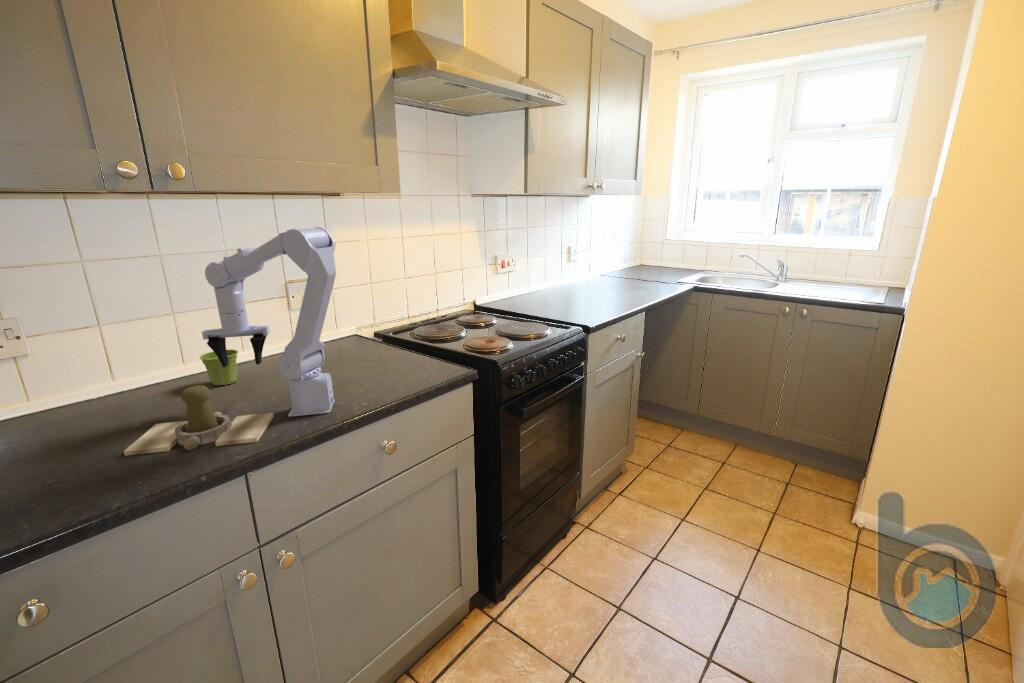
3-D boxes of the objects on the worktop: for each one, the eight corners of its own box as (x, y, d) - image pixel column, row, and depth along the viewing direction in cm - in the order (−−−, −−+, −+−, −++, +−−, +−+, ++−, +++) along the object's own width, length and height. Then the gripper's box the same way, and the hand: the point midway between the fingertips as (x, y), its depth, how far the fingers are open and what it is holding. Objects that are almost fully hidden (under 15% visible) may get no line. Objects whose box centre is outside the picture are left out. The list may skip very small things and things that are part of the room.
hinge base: (274, 415, 115) (273, 405, 114) (256, 443, 101) (254, 432, 101) (158, 426, 110) (156, 416, 110) (122, 457, 97) (119, 446, 96)
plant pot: (203, 382, 138) (197, 353, 136) (240, 374, 144) (235, 347, 141) (207, 391, 131) (201, 361, 129) (246, 383, 136) (240, 354, 134)
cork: (190, 442, 102) (178, 395, 99) (187, 432, 107) (176, 386, 104) (222, 434, 106) (212, 387, 103) (218, 425, 110) (208, 380, 107)
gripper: (269, 306, 121) (277, 357, 125) (206, 309, 118) (217, 361, 122) (260, 312, 114) (270, 365, 118) (194, 316, 112) (205, 370, 115)
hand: (242, 364), depth 120 cm, fingers open, 7 cm apart
